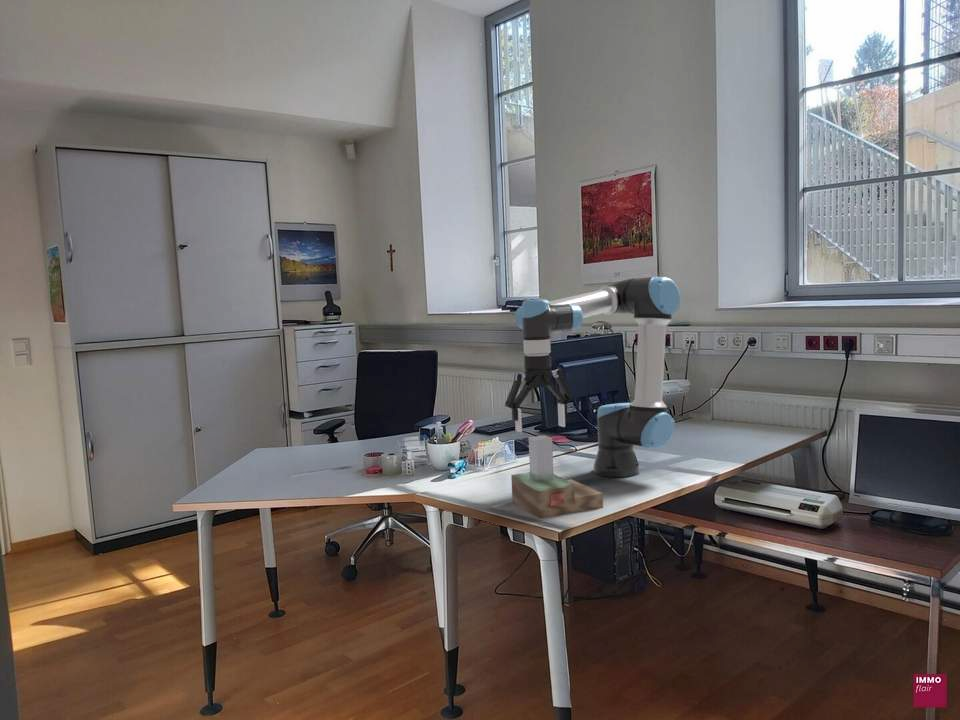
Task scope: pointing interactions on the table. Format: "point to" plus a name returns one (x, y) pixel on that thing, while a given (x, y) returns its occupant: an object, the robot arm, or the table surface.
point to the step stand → (553, 495)
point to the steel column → (541, 458)
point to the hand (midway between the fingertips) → (540, 429)
